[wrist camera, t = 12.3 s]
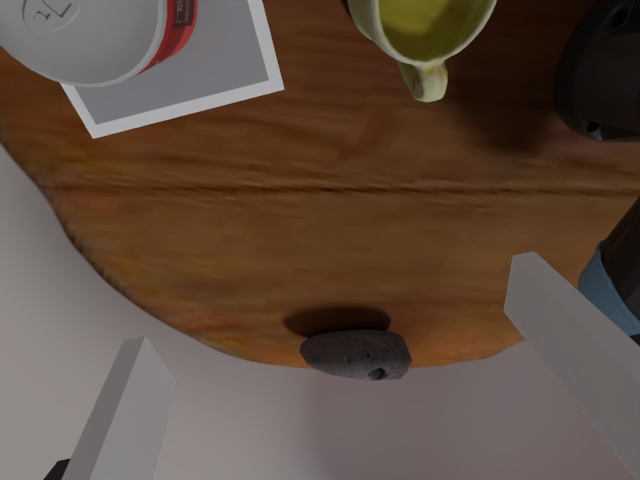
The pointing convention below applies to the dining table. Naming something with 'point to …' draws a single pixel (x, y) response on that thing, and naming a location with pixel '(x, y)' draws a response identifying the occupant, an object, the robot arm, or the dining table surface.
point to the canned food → (94, 36)
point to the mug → (422, 35)
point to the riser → (190, 73)
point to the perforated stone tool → (358, 354)
